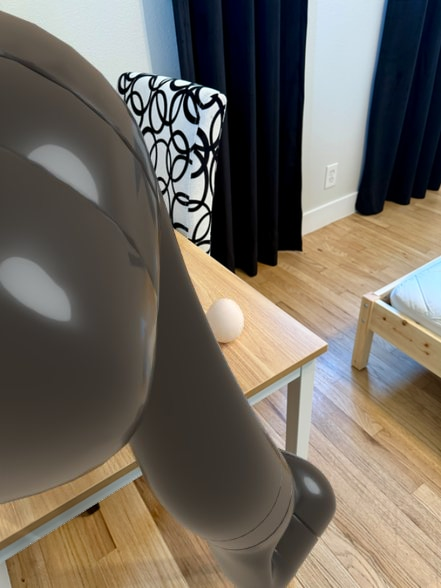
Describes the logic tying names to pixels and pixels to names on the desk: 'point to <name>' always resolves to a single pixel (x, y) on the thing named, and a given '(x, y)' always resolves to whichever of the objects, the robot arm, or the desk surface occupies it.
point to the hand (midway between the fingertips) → (60, 324)
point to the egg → (225, 320)
